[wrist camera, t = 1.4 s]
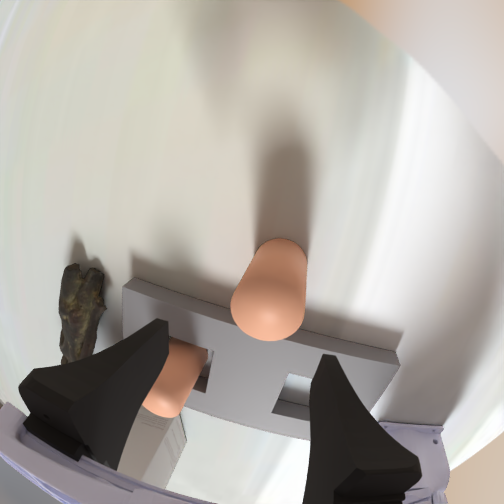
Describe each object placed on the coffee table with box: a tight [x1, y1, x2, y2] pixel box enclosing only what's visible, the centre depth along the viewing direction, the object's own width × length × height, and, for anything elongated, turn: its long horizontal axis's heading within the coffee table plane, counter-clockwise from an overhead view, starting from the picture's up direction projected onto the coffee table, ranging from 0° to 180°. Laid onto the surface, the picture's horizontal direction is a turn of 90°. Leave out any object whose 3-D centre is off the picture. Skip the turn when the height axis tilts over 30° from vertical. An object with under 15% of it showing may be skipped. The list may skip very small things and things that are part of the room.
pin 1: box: [142, 337, 208, 418], centre depth 23 cm, size 4×4×7 cm
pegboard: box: [122, 277, 400, 441], centre depth 25 cm, size 24×12×2 cm, turn 78°
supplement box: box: [117, 405, 187, 489], centre depth 26 cm, size 7×7×13 cm
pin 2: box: [230, 238, 307, 341], centre depth 19 cm, size 4×4×7 cm
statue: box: [59, 263, 107, 365], centre depth 27 cm, size 6×6×20 cm
